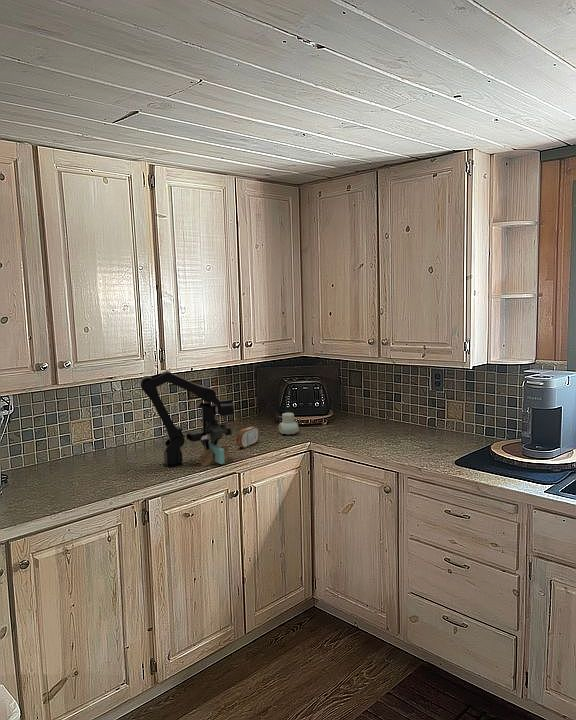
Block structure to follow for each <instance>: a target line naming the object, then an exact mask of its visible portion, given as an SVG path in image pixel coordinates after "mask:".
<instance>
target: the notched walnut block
mask: <svg viewBox="0 0 576 720" xmlns="http://www.w3.org/2000/svg"><path fill="white" fill-rule="evenodd" d="M220 447H221V448H223V449H224V463H225V462H229V461H230V454H229V453H230V452H229V451H230V449H229V446H228V445H223V446H220ZM200 460H201V461H200V464H201V466H203V467H206V466H211V465H214V464H215V465H216V464H218V463H217V462H215V456H213V452H212V450H211V449H207V450H205V449H203V450H200Z"/></svg>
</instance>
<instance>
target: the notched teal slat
mask: <svg viewBox="0 0 576 720" xmlns="http://www.w3.org/2000/svg"><path fill="white" fill-rule="evenodd" d="M208 444H209V449H211V450H212V452H213V456H215V462H217V463H216V464H219V465H222V464H225V462H224V449H223V448H221V447H222V446H219V445H215V444H213V443H211V441H209V442H208Z"/></svg>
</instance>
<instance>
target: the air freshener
mask: <svg viewBox="0 0 576 720" xmlns="http://www.w3.org/2000/svg"><path fill="white" fill-rule="evenodd" d="M281 417H282V419H281V420H282V422H280V423H279V424H278V430H279V431H278V432H279V433H280V434H281V435H283V434H286V436H289V435H291V434H292V435H295V434H297V433H298V432H299V430H300V429H299V424H298V422H297V421H295V414H294V413H293V412H284V413H282V414H281Z"/></svg>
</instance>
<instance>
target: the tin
mask: <svg viewBox="0 0 576 720" xmlns="http://www.w3.org/2000/svg"><path fill="white" fill-rule="evenodd" d="M259 436H260V431H259V428H258V427H257V426H253V425H250V426H247V427H245V428H243V429H240V430H239V431H238V433H237V436H236V446H237V447H239V448H245V447H246V448H248V447H251V446H253V445H255V444H256V443H258V441H259V438H260V437H259ZM254 443H255V444H254ZM252 444H253V445H252ZM250 445H251V446H250ZM247 446H248V447H247Z"/></svg>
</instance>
